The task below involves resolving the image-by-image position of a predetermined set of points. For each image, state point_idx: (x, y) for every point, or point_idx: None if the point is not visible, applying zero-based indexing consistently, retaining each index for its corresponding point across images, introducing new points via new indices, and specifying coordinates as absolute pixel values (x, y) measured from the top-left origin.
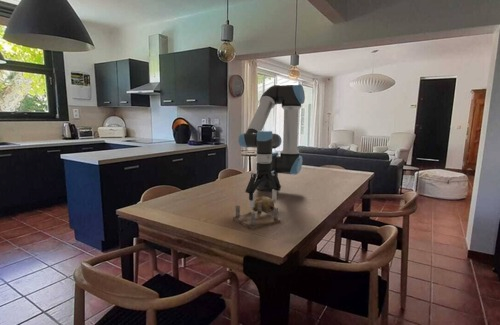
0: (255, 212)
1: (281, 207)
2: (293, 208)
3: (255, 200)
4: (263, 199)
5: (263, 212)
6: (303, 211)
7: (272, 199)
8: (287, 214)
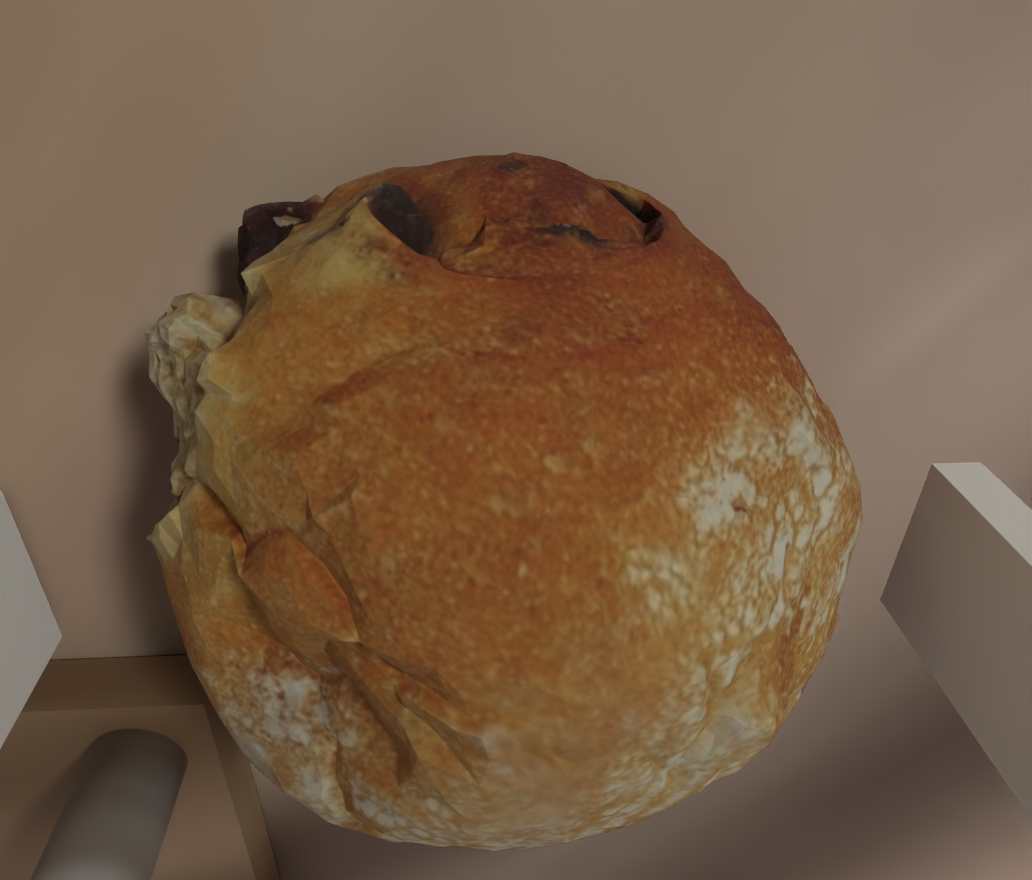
0: (25, 746)
1: None
2: None
3: (234, 444)
4: (389, 834)
5: (215, 803)
6: (961, 862)
7: (979, 540)
8: (644, 861)
